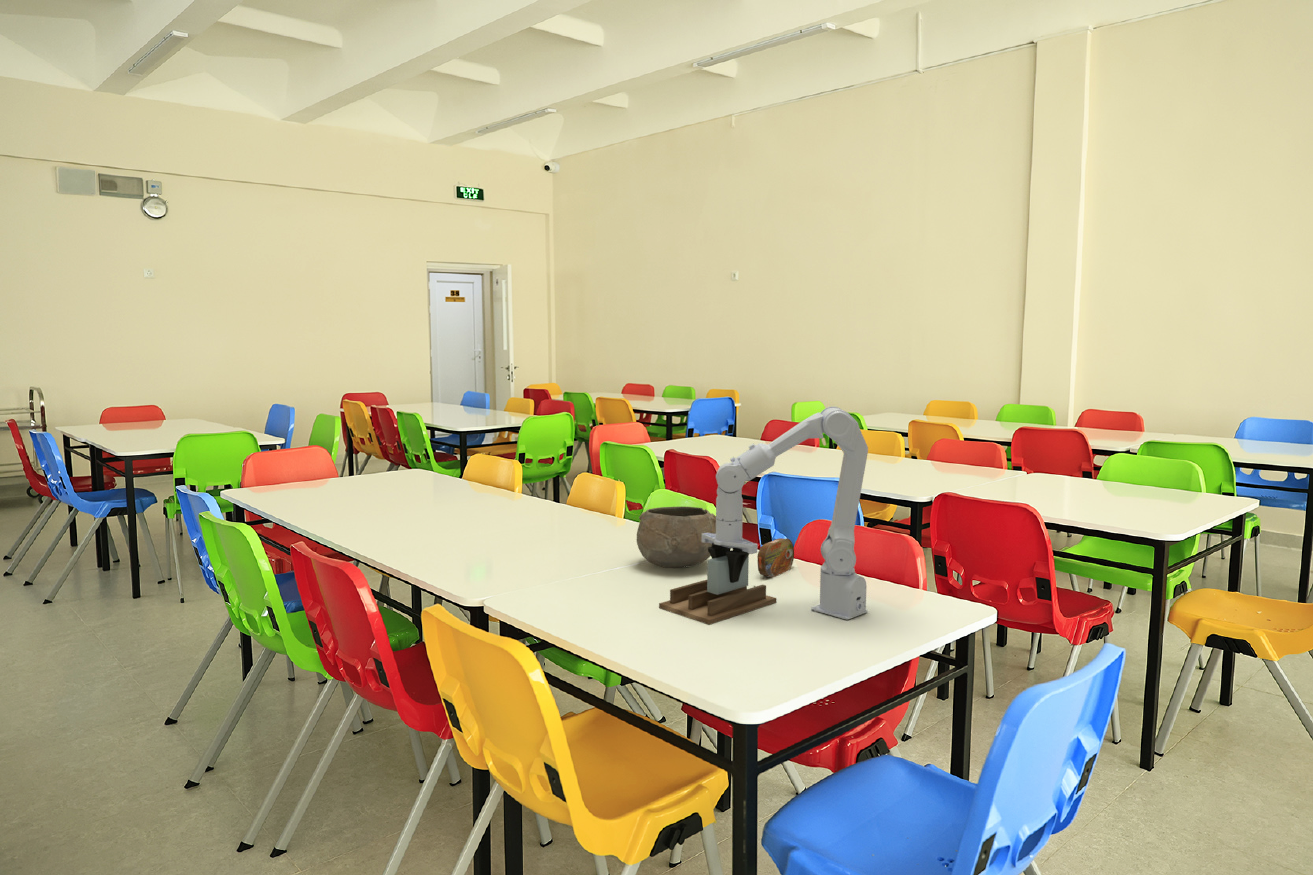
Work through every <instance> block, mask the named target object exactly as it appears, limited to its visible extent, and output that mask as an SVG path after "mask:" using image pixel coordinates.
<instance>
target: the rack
mask: <svg viewBox="0 0 1313 875" xmlns="http://www.w3.org/2000/svg"><path fill="white" fill-rule="evenodd" d="M777 600H778V599H777V597H773V596H770V595H768V594H767V585H766V584H760V585H757V586H754V587H750V588H748V586H746V587H742V588H739V589H736V590H732V591H729V592H725V593H722V594H719V595H716V594H713V593H710V592H707V579H705V580H700V581H697V582H693V583H690V584H686V585H682V586H678V587H675V588H671V589H670V590H669V600H666V601H663V602H659V603H658V608H659V609H661V610H664V611H667V612H670V611H671V612H670V613H673V614H676V615H679V616H682V617H686V618H689V619H691V620H695V621H697V622H700V623H704V624H707V625H708V626H709V625H712V624H715V623H718V622H722V621H724V620H727V619H730V618H733V617H736V616H739V615H743V614H746V613H749V612H752V611H755V610H758V609H760V608H764V607H767V606H770V605H773V604H776V603H777Z"/></svg>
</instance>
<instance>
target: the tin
mask: <svg viewBox="0 0 1313 875" xmlns="http://www.w3.org/2000/svg"><path fill="white" fill-rule="evenodd" d="M756 556H757V569H758V573H759V574H760V575H761V576H762V577H767V578H771V579H773V578H775V577H777V576H779V574H780V575H782V574H784V573H786V572H788V571H790V570H791V568H792V567H793V564H794V560H795V548H794V544H793V541H792V540H791V539H789V538H783V537H782V538H781V537H780V538H776V539H774V540H772V541H769V542H766V543H764V544H762V545H761V546H760V548H759V550H758V551H757V555H756Z"/></svg>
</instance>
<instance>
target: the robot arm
mask: <svg viewBox="0 0 1313 875" xmlns="http://www.w3.org/2000/svg"><path fill="white" fill-rule="evenodd" d="M823 434H825V435H826V436H827V437H828V438H830V439H831V440H832V441H834V442H835V443H836V445H837V446H838V448H840V450H841V452H842V453H843V456H842V461H841V467H840V473H839V477H838V478H839V479H838V484H837V489H836V495H835V502H834V507H833V514H832V518H831V523H830V525H829V528H828V530H827V536H826V538H825V539H824V540H823V542H822V543H821V546H820V553H821V556H822V558H823V559H824V561H823V563H822V565H821V566H820V575H819V576H820V580H819V583H820V585H819V604H817V605H814V606H812V607H811V608H810V610H811V611H815V612H818V613H822V614H824V615H825V614H826V615H829V616H832V617H836V618H838V619H843V620H850V619H853V618H856V617H858V616H860V615H863V614H866V613H868V612H869V611H868V609H867V587H868V586H867V581H866V579H865V577H863V576H861V575H859V574H857V573H856V571H855V570H856V569H855V566H856V563H857V556H856V552H855V543H856V542H855V540H856V539H855V538H856V537H855V526H856V522H857V515H858V509H859V504H860V499H861V494H862V493H861V492H862V488H863V481H864V476H865V471H866V470H865V469H866V465H867V460H868V455H869V454H868V453H869V447H868V444H867V442H866V440H865V438H864V436H863V433H862V431H861V429H860V426H859V422H858V421H857V420H856V419H855V418H854V417H853V416H852V415H851V414H850V413H849V412H848V411H846V410H843V409H842V408H840V407H838V406H827V407H825V408H824V409H822V411H820V412H819V411H818V412H816V413H814V414H812V415H809V417H807V418H805V419H803V420H802V421H800V422H799V423H797V424H796V425H795V426H793V427H791V428H790V429H789V430H787V431H786V432H784V433H783V434H781V435H780V436H779V437H777V438H775V439H774V440H773V441H772V442H769V443H763V442H762V443H761V442H759V443H757V444H754V443H752V444H750V445H749V446H748V449H747V450H746V451H744V452H743V453H741V454H740V455H738V456H737V457H734V456H733V457H731V458H730V459H729V460H730V462H726V463H723V464H722V465H720V466H719V467H718V469H717V470H716V474H715V479H716V484H717V485H718V486H717V489H716V495H717V496H716V499H715V504H716V505H715V516H716V534H713V533H703V534H702V542H703V543H711V544H712V546H711V547H709V548H708V552H709V553H710V555H711V556H710V557H711V559H714V558H718V557H722V556H726V555H727V558H728V563H729V577H730V582H731V583H734V582H738V581H739V577H740V573H741V570H742V567H743V565H744V562H745V561H746V559H747V557H748V555H749V556H750V555H753V554H758V543H755V542H752V541H750V540H748V539H745V538H743V508H744V507H743V506H744V504H743V503H744V499H743V497H742V491H743V486H744V484H745V482H749V481H751V480H753V479H755V478H756V477H758V476H760V475H761V474H762V473H764V472H765V471H767V470H768V469H771V468H772V467H774V466H775V462H776V459H777V457H779V456H781V455H782V454H784V453H786V452H787V451H789V450H790V449H793V448H794V447H796V446H798V445H799V444H801V443H803V442H805V441H806V440H809V439H824V435H823Z"/></svg>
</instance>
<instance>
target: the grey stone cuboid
mask: <svg viewBox="0 0 1313 875" xmlns="http://www.w3.org/2000/svg"><path fill="white" fill-rule="evenodd" d="M749 556H750V554H749V555H748V557H747V559H746V561H745V562H744V565H743V567H742V570H741V573H740V577H739V581H738V582H734V583H731V582H730V577H729V563H728V558H727V555H726V556H722V557H718V558H714V559H712V558H711V559H707V578H706V580H707V592H710V593H713V594H716V595H719V594H722V593H725V592H729V591H732V590H736V589H739V588H742V587H746V586H747V587H748V586H749V566H750V565H749V564H750V563H749V559H750V558H749Z"/></svg>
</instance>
